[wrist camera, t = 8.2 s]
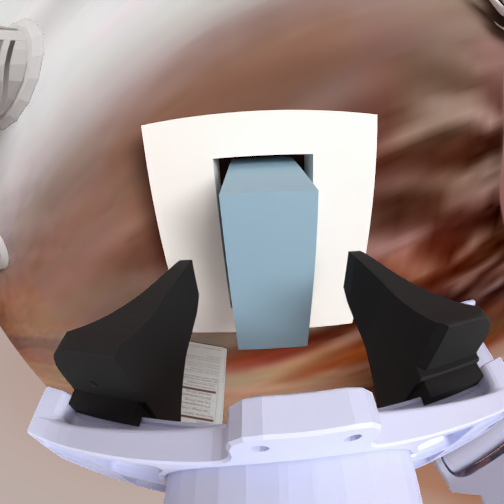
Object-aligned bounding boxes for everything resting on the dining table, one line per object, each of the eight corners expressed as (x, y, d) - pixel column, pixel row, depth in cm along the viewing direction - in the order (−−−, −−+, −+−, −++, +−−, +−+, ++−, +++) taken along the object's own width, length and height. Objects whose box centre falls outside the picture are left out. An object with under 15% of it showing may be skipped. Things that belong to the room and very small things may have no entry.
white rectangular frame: (343, 301, 21) (351, 323, 19) (191, 309, 21) (185, 332, 19) (359, 112, 14) (377, 114, 12) (156, 122, 14) (141, 125, 12)
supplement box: (219, 387, 27) (211, 497, 16) (151, 374, 26) (126, 480, 15) (229, 345, 23) (222, 484, 12) (147, 330, 22) (107, 460, 12)
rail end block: (291, 270, 19) (307, 345, 13) (241, 273, 20) (238, 349, 13) (291, 156, 15) (318, 190, 9) (231, 159, 16) (218, 195, 9)
